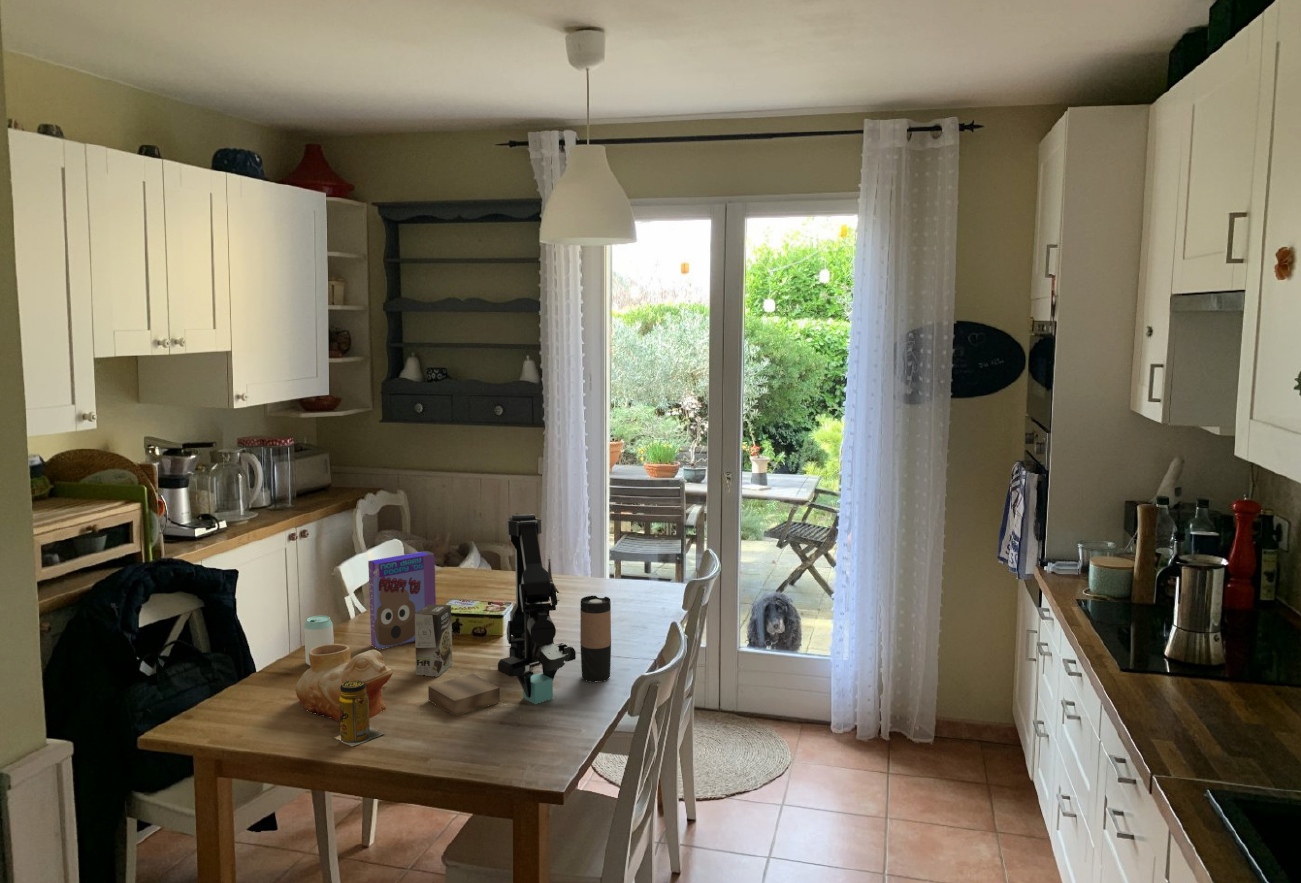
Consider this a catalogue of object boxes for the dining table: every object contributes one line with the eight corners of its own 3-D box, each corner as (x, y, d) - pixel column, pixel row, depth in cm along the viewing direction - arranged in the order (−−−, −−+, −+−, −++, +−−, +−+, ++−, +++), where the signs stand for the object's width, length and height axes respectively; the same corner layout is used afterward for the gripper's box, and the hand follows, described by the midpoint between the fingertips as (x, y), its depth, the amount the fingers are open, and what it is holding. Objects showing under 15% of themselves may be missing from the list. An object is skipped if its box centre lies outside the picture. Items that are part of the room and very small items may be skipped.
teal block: (540, 693, 236) (540, 672, 235) (552, 699, 232) (552, 678, 232) (523, 698, 233) (522, 677, 232) (535, 704, 229) (535, 683, 228)
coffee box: (439, 677, 246) (437, 614, 244) (415, 675, 247) (413, 613, 245) (453, 664, 255) (452, 604, 253) (430, 663, 256) (428, 603, 254)
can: (325, 669, 252) (323, 623, 250) (300, 667, 253) (298, 621, 252) (339, 659, 259) (337, 615, 257) (315, 657, 260) (313, 613, 259)
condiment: (332, 738, 211) (330, 684, 209) (366, 725, 217) (364, 673, 216) (351, 747, 206) (349, 692, 204) (386, 734, 212) (384, 681, 211)
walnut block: (473, 689, 239) (472, 673, 239) (499, 704, 230) (499, 687, 230) (428, 702, 231) (428, 685, 231) (454, 717, 222) (454, 700, 222)
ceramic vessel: (361, 733, 213) (359, 666, 211) (282, 707, 227) (279, 645, 225) (408, 711, 225) (406, 648, 223) (330, 688, 239) (328, 628, 237)
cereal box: (379, 649, 266) (376, 563, 263) (371, 645, 270) (368, 560, 267) (436, 636, 278) (434, 553, 275) (428, 632, 281) (426, 550, 278)
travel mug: (588, 684, 241) (587, 605, 239) (575, 674, 248) (575, 597, 245) (616, 679, 245) (616, 601, 242) (603, 669, 251) (603, 593, 249)
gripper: (523, 647, 218) (524, 715, 220) (589, 630, 230) (590, 694, 232) (495, 635, 227) (497, 700, 228) (561, 619, 239) (562, 681, 241)
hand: (537, 694), depth 232 cm, fingers closed on teal block, 5 cm apart
